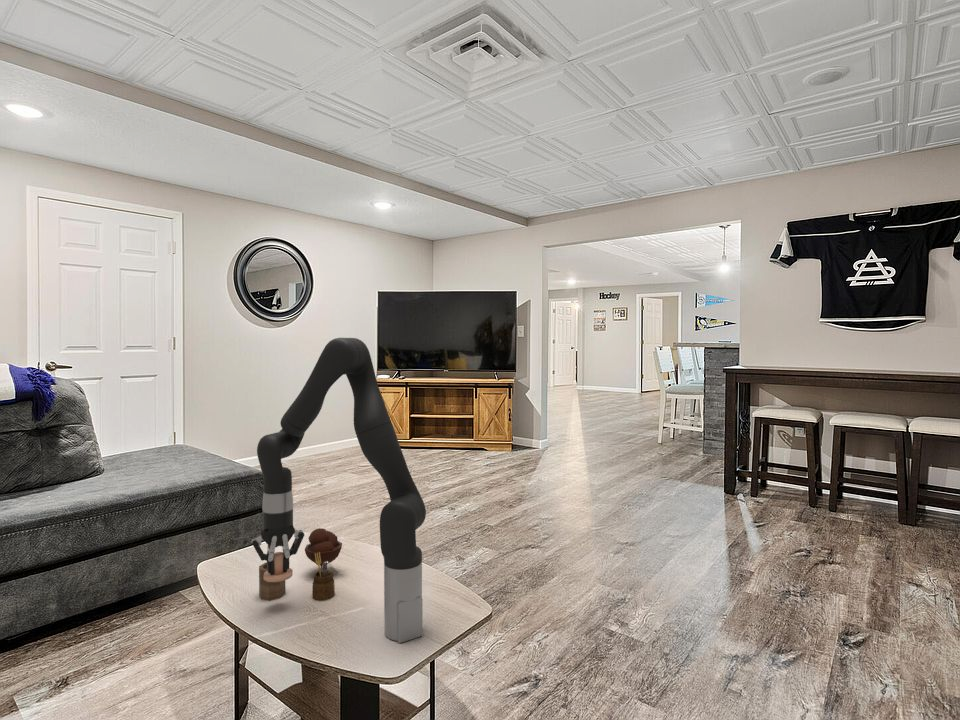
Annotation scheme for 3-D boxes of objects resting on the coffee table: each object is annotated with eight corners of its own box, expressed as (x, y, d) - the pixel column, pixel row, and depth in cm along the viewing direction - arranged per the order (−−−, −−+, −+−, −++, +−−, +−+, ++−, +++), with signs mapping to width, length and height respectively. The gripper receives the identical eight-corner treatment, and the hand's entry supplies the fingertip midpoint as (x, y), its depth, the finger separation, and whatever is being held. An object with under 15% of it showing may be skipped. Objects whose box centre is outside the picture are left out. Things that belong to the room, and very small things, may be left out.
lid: (295, 578, 141) (295, 555, 141) (266, 584, 137) (266, 561, 137) (289, 568, 147) (289, 546, 147) (261, 574, 143) (261, 552, 143)
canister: (287, 599, 149) (286, 567, 149) (262, 605, 146) (261, 572, 145) (282, 590, 154) (281, 559, 154) (258, 595, 151) (257, 564, 151)
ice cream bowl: (332, 585, 157) (332, 535, 157) (298, 582, 159) (297, 532, 159) (348, 571, 168) (348, 523, 167) (315, 568, 170) (315, 521, 169)
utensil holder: (319, 605, 145) (319, 561, 145) (307, 598, 149) (307, 555, 149) (338, 598, 149) (338, 555, 149) (326, 591, 154) (326, 549, 154)
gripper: (251, 516, 135) (252, 584, 135) (308, 507, 142) (308, 571, 143) (247, 508, 141) (247, 573, 142) (301, 500, 149) (301, 562, 149)
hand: (278, 572), depth 142 cm, fingers closed on lid, 2 cm apart
